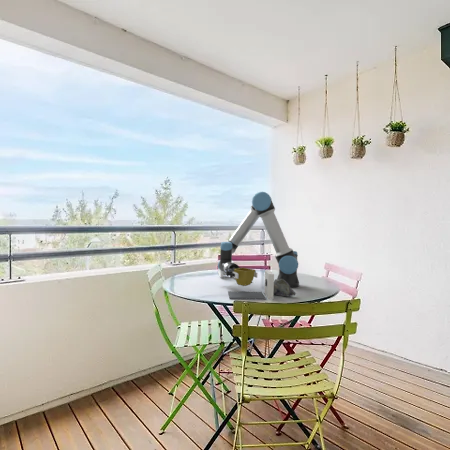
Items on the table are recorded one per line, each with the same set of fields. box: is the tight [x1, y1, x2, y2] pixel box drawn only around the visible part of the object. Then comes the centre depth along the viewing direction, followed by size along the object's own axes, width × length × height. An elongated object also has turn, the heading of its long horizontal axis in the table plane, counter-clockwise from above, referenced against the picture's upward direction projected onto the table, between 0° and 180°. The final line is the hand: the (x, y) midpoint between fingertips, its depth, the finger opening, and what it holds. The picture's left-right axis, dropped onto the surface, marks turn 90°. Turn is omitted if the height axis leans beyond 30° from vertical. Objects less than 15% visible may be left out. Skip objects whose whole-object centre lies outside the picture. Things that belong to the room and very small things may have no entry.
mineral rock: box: [273, 278, 297, 297], centre depth 193 cm, size 13×11×10 cm
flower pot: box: [234, 267, 256, 287], centre depth 190 cm, size 9×9×9 cm
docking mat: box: [227, 290, 267, 301], centre depth 191 cm, size 20×14×1 cm
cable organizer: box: [217, 259, 235, 279], centre depth 245 cm, size 15×11×12 cm
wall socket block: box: [263, 269, 275, 300], centre depth 191 cm, size 4×12×14 cm, turn 3°
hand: (247, 275), depth 187 cm, fingers closed on flower pot, 11 cm apart
